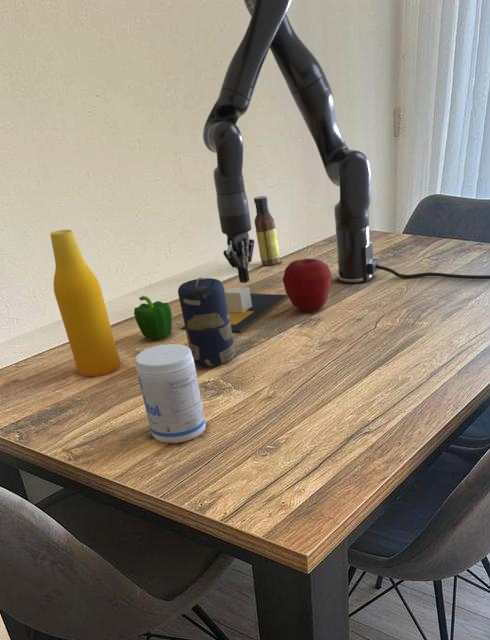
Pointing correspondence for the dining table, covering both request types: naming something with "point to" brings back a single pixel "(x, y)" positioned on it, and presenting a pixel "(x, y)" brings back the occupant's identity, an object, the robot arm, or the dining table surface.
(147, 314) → the bell pepper
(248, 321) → the mat
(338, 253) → the robot arm
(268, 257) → the sauce bottle
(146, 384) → the supplement tub
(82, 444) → the dining table surface
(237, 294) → the matte off-white cube
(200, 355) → the canister
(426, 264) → the dining table surface
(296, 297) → the apple
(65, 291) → the beer bottle
